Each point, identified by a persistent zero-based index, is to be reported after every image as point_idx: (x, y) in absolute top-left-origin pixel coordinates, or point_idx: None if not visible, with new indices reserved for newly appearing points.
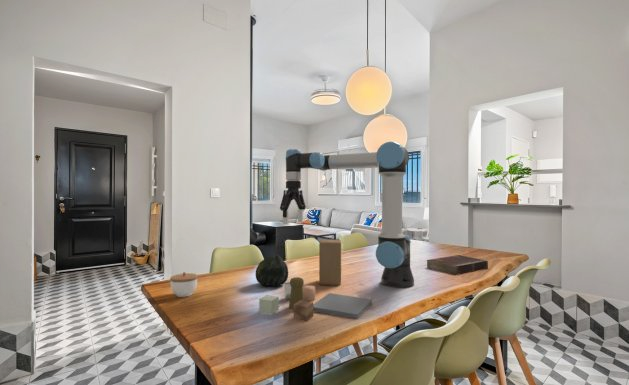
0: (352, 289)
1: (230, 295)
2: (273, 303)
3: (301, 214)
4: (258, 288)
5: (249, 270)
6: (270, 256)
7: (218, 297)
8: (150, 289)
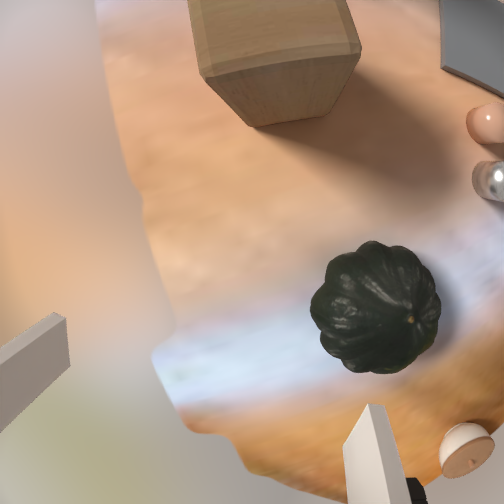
0: None
1: (472, 352)
2: None
3: (7, 371)
4: None
5: (202, 417)
6: (407, 347)
7: (482, 367)
8: None
